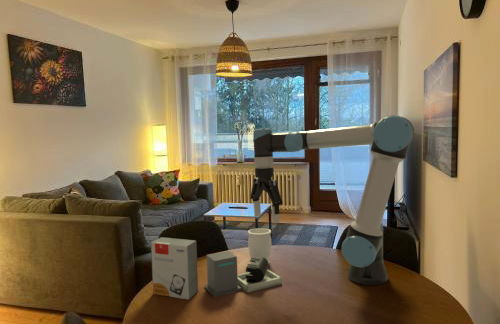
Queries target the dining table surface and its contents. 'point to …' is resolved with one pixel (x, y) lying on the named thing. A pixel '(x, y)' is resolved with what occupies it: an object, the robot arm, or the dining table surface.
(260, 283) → the tray
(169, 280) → the hard drive box
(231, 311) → the dining table surface
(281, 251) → the dining table surface
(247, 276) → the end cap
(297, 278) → the dining table surface
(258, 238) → the jar
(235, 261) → the unit
